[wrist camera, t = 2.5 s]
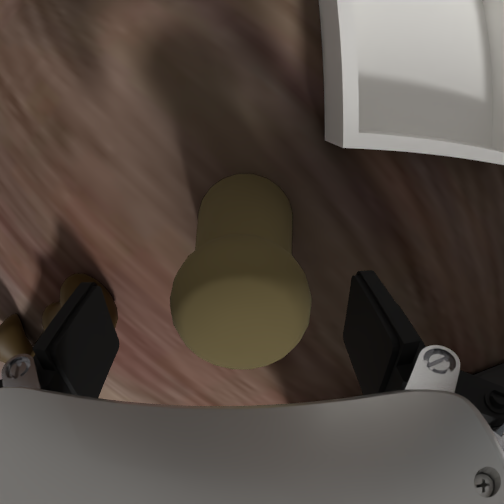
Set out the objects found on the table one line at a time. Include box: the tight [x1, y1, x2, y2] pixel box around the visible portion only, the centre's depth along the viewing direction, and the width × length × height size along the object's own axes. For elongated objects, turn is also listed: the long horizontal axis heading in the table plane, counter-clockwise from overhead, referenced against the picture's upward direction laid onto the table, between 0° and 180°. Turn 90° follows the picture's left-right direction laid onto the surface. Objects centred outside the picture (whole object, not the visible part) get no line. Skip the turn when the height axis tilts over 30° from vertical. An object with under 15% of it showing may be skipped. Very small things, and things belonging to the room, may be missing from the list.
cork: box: [170, 174, 312, 369], centre depth 15 cm, size 6×6×11 cm
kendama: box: [0, 274, 118, 363], centre depth 22 cm, size 6×10×20 cm
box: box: [319, 0, 504, 165], centre depth 13 cm, size 14×14×4 cm
